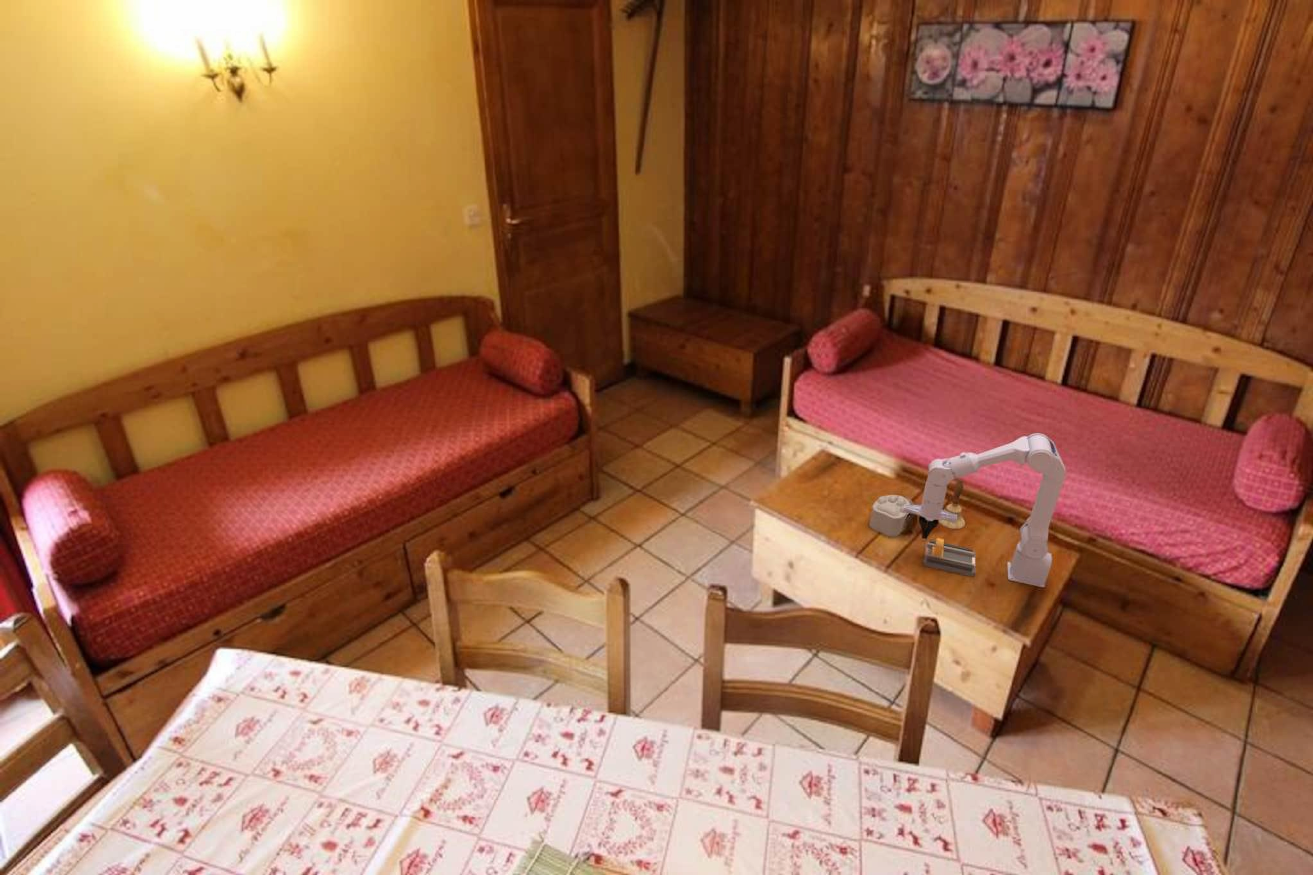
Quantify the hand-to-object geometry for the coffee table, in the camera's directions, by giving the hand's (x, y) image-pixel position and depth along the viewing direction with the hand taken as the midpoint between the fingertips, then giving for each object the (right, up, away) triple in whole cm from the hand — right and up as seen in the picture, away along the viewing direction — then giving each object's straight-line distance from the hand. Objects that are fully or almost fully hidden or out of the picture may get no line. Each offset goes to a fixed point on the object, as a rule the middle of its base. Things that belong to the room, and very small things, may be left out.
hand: (924, 536), depth 212 cm
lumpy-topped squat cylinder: (-5, +2, +17) cm, 18 cm away
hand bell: (+15, +2, +18) cm, 24 cm away
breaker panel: (+7, -7, +1) cm, 11 cm away
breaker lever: (+4, -5, +1) cm, 7 cm away
